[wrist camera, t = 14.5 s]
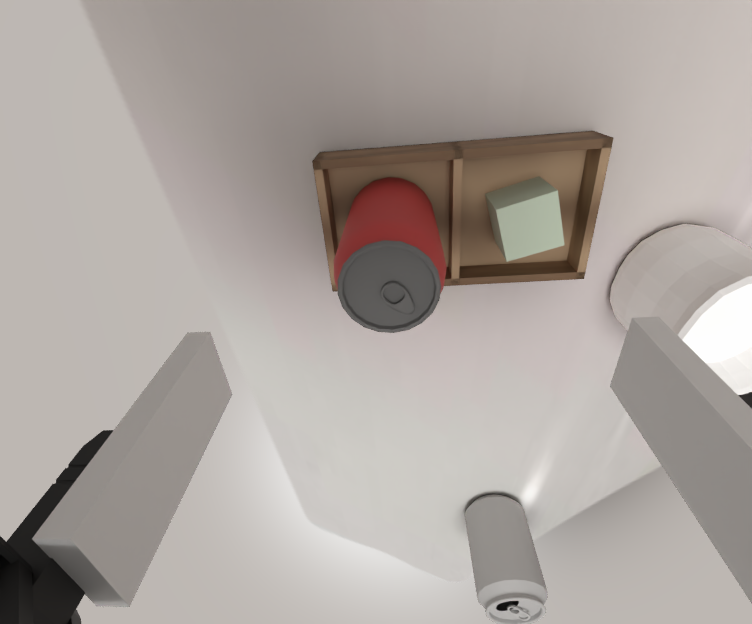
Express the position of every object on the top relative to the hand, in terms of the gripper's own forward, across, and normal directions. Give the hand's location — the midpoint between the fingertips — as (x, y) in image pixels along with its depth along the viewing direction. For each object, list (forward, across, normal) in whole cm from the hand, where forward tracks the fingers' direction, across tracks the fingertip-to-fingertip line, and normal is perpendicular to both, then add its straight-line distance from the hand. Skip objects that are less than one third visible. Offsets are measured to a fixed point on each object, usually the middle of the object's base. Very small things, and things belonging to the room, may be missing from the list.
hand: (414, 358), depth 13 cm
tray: (+22, +4, -2) cm, 22 cm away
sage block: (+20, +9, -2) cm, 22 cm away
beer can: (+21, -1, -2) cm, 21 cm away
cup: (+22, +22, -9) cm, 32 cm away
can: (+21, +10, -42) cm, 48 cm away
